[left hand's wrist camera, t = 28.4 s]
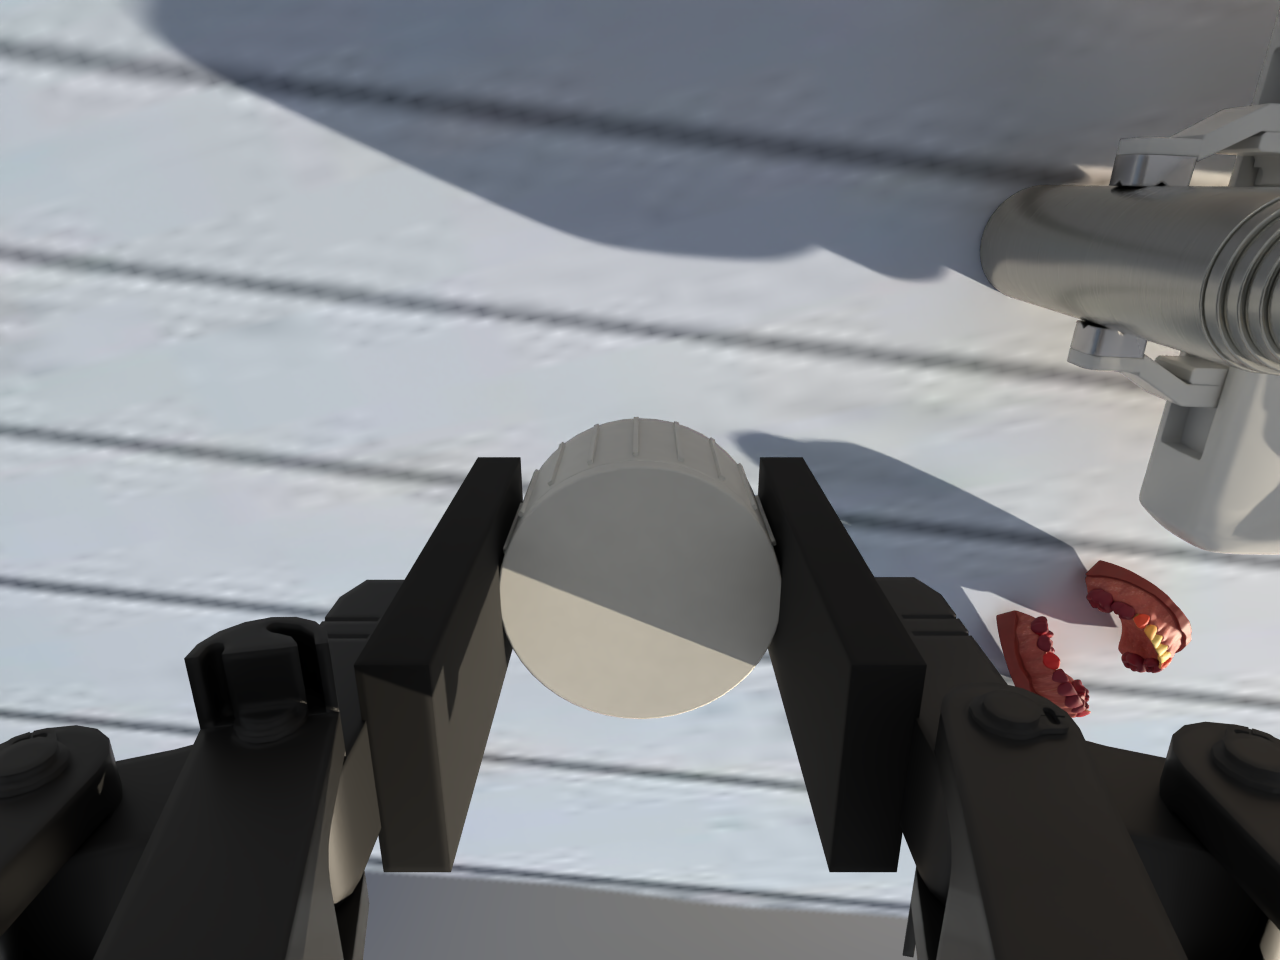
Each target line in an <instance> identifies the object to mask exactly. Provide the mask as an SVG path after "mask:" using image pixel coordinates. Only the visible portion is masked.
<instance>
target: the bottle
mask: <svg viewBox="0 0 1280 960" xmlns="http://www.w3.org/2000/svg"><path fill="white" fill-rule="evenodd" d="M980 258H981V264H982V268H983V271H984V273H985V276H986V277H987V279H988V281H989V282H990V283H991V284H992V286H993V287H994V288H996V289H997V290H998V291H999V292H1001V293H1002V294H1004V295H1006V296H1009V297H1011V298H1014V299H1018V300H1021V301H1024V302H1027V303H1030V304H1034V305H1037V306H1040V307H1043V308H1046V309H1049V310H1053V311H1056V312H1059V313H1062V314H1065V315H1068V316H1072V317H1075V318H1078V319H1081V320H1084V321H1088V322H1091V323H1094V324H1097V325H1100V326H1103V327H1107V328H1110V329H1113V330H1116V331H1119V332H1123V333H1126V334H1129V335H1132V336H1135V337H1138V338H1142V339H1145V340H1148V341H1151V342H1154V343H1157V344H1161V345H1164V346H1167V347H1170V348H1173V349H1177V350H1180V351H1183V352H1186V353H1189V354H1192V355H1196V356H1199V357H1202V358H1205V359H1208V360H1211V361H1215V362H1218V363H1221V364H1224V365H1227V366H1231V367H1234V368H1237V369H1240V370H1244V371H1247V372H1251V373H1259V374H1268V375H1277V376H1280V187H1225V186H1149V187H1136V186H1109V185H1038V186H1033V187H1029V188H1026V189H1024V190H1021V191H1019V192H1017V193H1015V194H1014V195H1012V196H1011V197H1009V198H1008V199H1007V200H1005V201H1004V202H1003V203H1002V204H1001V205H1000V206H999V207H998V208H997V209H996V211H995V212H994V213H993V215H992V216H991V218H990V219H989V221H988V223H987V225H986V227H985V230H984V232H983V236H982V240H981V246H980Z"/></svg>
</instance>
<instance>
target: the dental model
mask: <svg viewBox="0 0 1280 960" xmlns="http://www.w3.org/2000/svg"><path fill="white" fill-rule="evenodd" d="M1086 575H1087V577H1086V578H1085V581H1086V585H1087V590H1088V594H1087V599H1088V601H1089V603H1090V604H1091V606H1092V607H1093V608H1098V610H1100V611H1102V612H1105V613H1110V612H1112V611H1114V613H1115V614H1118V615H1119V618H1120V619H1121V622H1122V635H1121V639H1120V642H1119V647H1118V649H1119V651H1120V653H1121V654H1123V655H1122V662H1123V664H1124V666H1125V667H1126V668H1130V669H1131V670H1132V671H1138V672H1145V671H1146V672H1152V673H1156V672H1160V671H1162V670H1163V669H1164V668H1166V667H1167V666H1168V664H1169V663H1170V662H1171V660H1172V658H1173V656H1174V654H1175V653H1177V652H1179V651H1181V650H1182V649H1183V648H1184V647H1185V646H1186V645H1187V644H1188V643H1189V642H1190V641H1191V632H1192V631H1191V626H1190V622H1189V620H1188V619H1187V618H1186V616H1185V615H1184V613H1183V612H1182V611H1181V610H1180V608H1179V607H1177V606H1176V604H1175V603H1174V602H1173V601H1172V600H1171V599H1170V597H1169V596H1168V595H1166V594H1165V593H1164V592H1163V591H1161V590H1160V589H1159V588H1158V587H1156V586H1155V585H1154V584H1152V583H1151V582H1149V581H1147V580H1146V579H1144V578H1142V577H1141V576H1139V575H1137V574H1135V573H1133V572H1132V571H1130V570H1127V569H1125V568H1122V567H1120V566H1117V565H1114V564H1111V563H1108V562H1105V561H1101V560H1100V561H1098V562H1097V563H1096V564H1095V565H1094V566H1093V567H1092V568H1091V569H1090V570H1089V571H1088V572H1087V573H1086ZM996 618H997V626H998V632H999V637H1000V642H1001V646H1002V650H1003V654H1004V658H1005V661H1006V663H1007V666H1008V669H1009V672H1010V675H1011V678H1012V680H1013V682H1014V685H1015V687H1020V688H1023V689H1026V690H1028V691H1030V692H1033V693H1035V694H1038V695H1040V696H1042V697H1045V698H1047V699H1048V700H1050V701H1051V702H1053V703H1054V704H1056V705H1057V706H1059V707H1060V708H1061V709H1063V710H1064V711H1066V712H1067V713H1068V714H1069V715H1070V717H1072V718H1074V717H1083V716H1086V715H1088V714H1089V713H1090V711H1088V709H1089V705H1088V704H1087V702H1088V701H1089V695H1088V693H1089V691H1088V689H1086V688H1085V687H1084V686H1082V682H1081V680H1073V679H1072V678H1071V677H1070V676H1068V675H1067V674H1066V673H1065V672H1064V671H1063V670H1062V669H1058V668H1059V665H1060V659H1059V658H1058V657H1057V656H1056V655H1055V654H1054V652H1055V650H1054V648H1053V647H1052V645H1053V642H1052V640H1050V638H1051V637H1053V635H1054V634H1053V633H1052V632H1051V631H1049V630H1048V624H1047V619H1046V617H1044V616H1040V617H1038V618H1034V617H1032V616H1030V615H1027V614H1024V613H1022V612H1019V611H1011V612H1007V613H1003V614H1000V615H997V616H996ZM1056 669H1058V670H1056Z"/></svg>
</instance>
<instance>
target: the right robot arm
mask: <svg viewBox="0 0 1280 960" xmlns="http://www.w3.org/2000/svg"><path fill="white" fill-rule="evenodd" d="M1212 154H1225V155H1237V157H1236V161H1235V164H1234V168H1233V171H1232V175H1231V178H1230V182H1229V185H1228V187H1280V8H1279V11H1278V15H1277V18H1276V22H1275V25H1274V29H1273V32H1272V36H1271V39H1270V43H1269V46H1268V50H1267V53H1266V57H1265V60H1264V64H1263V67H1262V70H1261V74H1260V77H1259V81H1258V84H1257V88H1256V91H1255V95H1254V98H1253V102H1252V105H1251V106H1245V107H1236V108H1228V109H1223V110H1221V111H1219V112H1217V113H1215V114H1213V115H1211V116H1209V117H1208V118H1206V119H1204V120H1202V121H1200V122H1198V123H1196V124H1194V125H1192V126H1190V127H1188V128H1186V129H1184V130H1183V131H1181V132H1179V133H1177V134H1175V135H1173V136H1171V137H1169V138H1166V137H1137V138H1126V139H1120V142H1119V146H1118V150H1117V154H1116V158H1115V163H1114V167H1113V171H1112V175H1111V179H1110V184H1109V186H1136V187H1149V186H1189V184H1190V180H1191V177H1192V174H1193V170H1194V167H1195V164H1196V161H1200V160H1202V159H1204V158H1206V157H1208V156H1210V155H1212ZM1146 343H1147V340H1145V339H1142V338H1138V337H1135V336H1132V335H1129V334H1126V333H1123V332H1119V331H1116V330H1113V329H1110V328H1107V327H1103V326H1100V325H1097V324H1094V323H1091V322H1088V321H1084V320H1080V321H1077V323H1076V327H1075V331H1074V334H1073V338H1072V342H1071V346H1070V347H1071V348H1070V350H1069V354H1068V359H1067V361H1068V362H1070V363H1072V364H1075V365H1077V366H1079V367H1082V368H1086V369H1091V370H1097V371H1114V372H1120V373H1121V374H1123V375H1124V376H1125V377H1127V378H1128V379H1129V380H1131V381H1132V382H1133V383H1135V384H1136V385H1138V386H1139V387H1140V388H1142V389H1143V390H1144V391H1146V392H1148V393H1150V394H1153V395H1155V396H1157V397H1160V398H1162V399H1165V400H1167V401H1166V404H1165V408H1164V411H1163V415H1162V418H1161V421H1160V425H1159V428H1158V432H1157V435H1156V439H1155V442H1154V446H1153V449H1152V453H1151V456H1150V460H1149V463H1148V467H1147V470H1146V473H1145V477H1144V480H1143V483H1142V487H1141V490H1140V495H1139V499H1140V502H1141V504H1142V506H1143V507H1144V508H1145V509H1146V510H1147V512H1148V513H1149V514H1150V515H1151V516H1152V517H1153V518H1154V519H1155V520H1156V521H1157V522H1158V523H1159V524H1161V525H1162V526H1163V527H1164V528H1166V529H1167V530H1168V531H1170V532H1171V533H1172V534H1174V535H1176V536H1177V537H1179V538H1181V539H1182V540H1184V541H1186V542H1188V543H1190V544H1192V545H1194V546H1196V547H1198V548H1201V549H1203V550H1207V551H1211V552H1216V553H1228V554H1262V555H1270V554H1280V376H1277V375H1268V374H1259V373H1251V372H1247V371H1244V370H1240V369H1237V368H1234V367H1231V366H1227V365H1224V364H1221V363H1218V362H1215V361H1211V360H1208V359H1205V358H1202V357H1199V356H1196V355H1192V354H1189V353H1186V352H1183V351H1181V352H1180V356H1158V357H1157V358H1156V359H1155V361H1153V360H1152V359H1151V358H1149V357H1148V356H1146V355H1145V354H1144V351H1145V347H1146Z"/></svg>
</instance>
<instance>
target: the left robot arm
mask: <svg viewBox="0 0 1280 960" xmlns="http://www.w3.org/2000/svg"><path fill="white" fill-rule="evenodd" d="M758 496H759V499H760V502H761V504H762V507H763V509H764V512H765V515H766V517H767V520H768V523H769V525H770V528H771V531H772V533H773V536H774V538H775V541H776V544H777V545H775V546H773V547H774V550H775V553H776V556H777V559H778V562H779V566H780V571H781V593H780V608H779V621H778V625H777V629H776V632H775V634H774V636H773V638H772V641H771V643H770V645H769V647H768V651H769V654H770V658H771V661H772V665H773V669H774V672H775V676H776V680H777V683H778V687H779V690H780V694H781V698H782V701H783V705H784V709H785V712H786V716H787V719H788V723H789V727H790V730H791V734H792V738H793V741H794V745H795V748H796V752H797V756H798V759H799V763H800V767H801V770H802V774H803V777H804V781H805V785H806V788H807V792H808V796H809V799H810V803H811V806H812V810H813V814H814V817H815V821H816V825H817V828H818V832H819V835H820V839H821V843H822V846H823V850H824V854H825V857H826V861H827V864H828V868H829V872H897V867H898V860H899V853H900V846H901V839H902V833H903V834H904V837H905V839H906V842H907V844H908V847H909V849H910V852H911V854H912V857H913V859H914V861H915V864H916V871H915V878H914V884H913V891H912V897H911V903H910V910H909V916H908V923H907V929H906V935H905V942H904V949H903V956H909V957H913V956H914V951H915V945H916V951H917V959H918V960H1280V740H1279V739H1277V738H1275V737H1273V736H1272V735H1270V734H1268V733H1265V732H1262V731H1259V730H1256V729H1253V728H1252V730H1251V729H1249V728H1248V727H1244V726H1239V725H1235V724H1223V723H1213V722H1201V723H1195V724H1189V725H1184V726H1183V727H1182V728H1180V729H1179V730H1178V731H1177V732H1176V733H1174V734H1173V735H1172V739H1171V743H1170V746H1169V750H1168V753H1167V757H1166V758H1163V757H1158V756H1153V755H1148V754H1143V753H1138V752H1133V751H1128V750H1123V749H1118V748H1113V747H1108V746H1104V745H1100V744H1096V743H1093V742H1089V741H1085V739H1084V737H1083V735H1082V732H1081V730H1080V728H1079V727H1078V726H1077V724H1076V723H1075V722H1074V721H1073V719H1072V718H1071V717H1070V715H1069V714H1068V713H1067V712H1066V711H1064V710H1063V709H1061V708H1060V707H1059V706H1057V705H1056V704H1054V703H1053V702H1051V701H1050V700H1048V699H1047V698H1045V697H1042V696H1040V695H1038V694H1035V693H1033V692H1030V691H1028V690H1026V689H1023V688H1020V687H1015V686H1010V685H1007V683H1006V682H1005V680H1004V679H1003V678H1002V676H1001V675H1000V674H999V672H998V671H997V670H996V668H995V667H994V666H993V664H992V663H991V661H990V660H989V659H988V657H987V656H986V655H985V653H984V652H983V651H982V649H981V648H980V647H979V645H978V644H977V643H976V641H975V640H974V638H973V637H972V636H969V635H968V630H967V629H966V628H965V626H964V625H963V624H962V622H961V621H960V619H956V614H955V613H954V611H953V610H952V609H951V607H950V606H949V605H948V603H947V602H946V600H945V599H944V598H943V596H942V595H941V594H939V593H938V592H936V591H935V590H933V589H932V588H930V587H928V586H927V585H925V584H924V583H922V582H921V581H919V580H918V579H916V578H914V577H874V576H873V574H872V572H871V571H870V569H869V567H868V566H867V564H866V562H865V561H864V559H863V557H862V556H861V554H860V552H859V551H858V549H857V547H856V546H855V544H854V542H853V541H852V539H851V537H850V536H849V534H848V532H847V531H846V529H845V527H844V526H843V524H842V522H841V521H840V519H839V517H838V516H837V514H836V512H835V511H834V509H833V507H832V506H831V504H830V502H829V501H828V499H827V497H826V496H825V494H824V492H823V491H822V489H821V487H820V486H819V484H818V482H817V481H816V479H815V477H814V476H813V474H812V472H811V471H810V469H809V467H808V466H807V464H806V462H805V461H804V459H803V457H760V469H759V487H758ZM520 503H523V495H522V477H521V459H520V457H478V458H477V460H476V462H475V463H474V465H473V467H472V468H471V470H470V472H469V473H468V475H467V477H466V478H465V480H464V482H463V483H462V485H461V487H460V488H459V490H458V492H457V493H456V495H455V497H454V498H453V500H452V502H451V503H450V505H449V507H448V508H447V510H446V512H445V513H444V515H443V517H442V518H441V520H440V522H439V523H438V525H437V527H436V528H435V530H434V532H433V533H432V535H431V537H430V538H429V540H428V542H427V543H426V545H425V547H424V548H423V550H422V552H421V553H420V555H419V557H418V558H417V560H416V562H415V563H414V565H413V567H412V568H411V570H410V572H409V573H408V575H407V577H406V578H405V580H366V581H364V582H363V583H361V584H360V585H358V586H356V587H355V588H353V589H352V590H350V591H349V592H347V593H346V594H344V595H342V596H341V597H340V598H339V599H338V600H337V602H336V603H335V604H334V606H333V607H332V609H331V610H330V611H329V613H328V614H327V615H326V617H325V621H322V622H321V624H320V625H319V624H318V623H317V622H315V621H311V620H307V619H303V618H298V617H270V618H265V619H259V620H254V621H249V622H244V623H241V624H239V625H236V626H233V627H230V628H227V629H225V630H222V631H219V632H217V633H216V634H214V635H212V636H211V637H209V638H207V639H206V640H204V641H202V642H200V643H199V644H197V645H196V646H195V648H194V649H193V650H192V651H191V652H190V653H189V654H188V655H187V656H186V657H185V658H184V660H185V664H186V668H187V673H188V677H189V681H190V686H191V690H192V694H193V699H194V703H195V707H196V712H197V716H198V720H199V725H200V729H201V730H200V732H199V734H198V736H197V738H196V740H195V742H194V744H193V745H190V746H186V747H182V748H179V749H175V750H170V751H165V752H160V753H155V754H150V755H145V756H140V757H135V758H130V759H125V760H120V761H115V758H114V754H113V751H112V747H111V744H110V740H109V738H108V737H107V736H105V735H104V734H103V733H102V732H101V731H99V730H98V729H95V728H89V727H83V726H77V725H74V726H64V727H54V728H45V729H40V730H36V731H34V732H32V733H30V732H28V733H25V734H22V735H19V736H16V737H13V738H11V739H10V740H8V741H6V742H4V743H2V744H0V960H363V952H364V944H365V936H366V927H367V918H368V910H369V898H368V891H367V884H366V878H365V871H364V869H365V867H366V864H367V862H368V860H369V857H370V855H371V852H372V850H373V847H374V845H375V842H376V840H377V837H378V836H379V843H380V849H381V856H382V863H383V870H384V872H451V870H452V866H453V863H454V859H455V855H456V852H457V848H458V845H459V841H460V837H461V834H462V830H463V826H464V823H465V819H466V816H467V812H468V808H469V805H470V801H471V797H472V794H473V790H474V787H475V783H476V779H477V776H478V772H479V768H480V765H481V761H482V758H483V754H484V750H485V747H486V743H487V739H488V736H489V732H490V729H491V725H492V721H493V718H494V714H495V710H496V707H497V703H498V700H499V696H500V692H501V689H502V685H503V681H504V678H505V674H506V671H507V667H508V663H509V660H510V656H511V652H512V649H513V648H512V646H511V644H510V642H509V639H508V637H507V635H506V633H505V630H504V626H503V623H502V613H501V599H500V583H499V574H500V567H501V564H502V561H503V558H504V553H503V547H504V545H505V542H506V539H507V537H508V534H509V532H510V529H511V526H512V524H513V521H514V518H515V516H516V513H517V510H518V508H519V505H520Z"/></svg>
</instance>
